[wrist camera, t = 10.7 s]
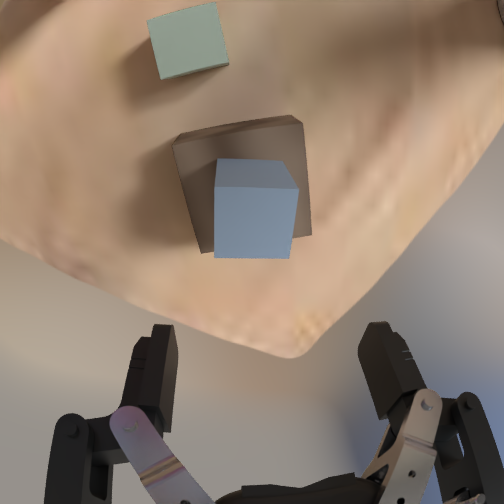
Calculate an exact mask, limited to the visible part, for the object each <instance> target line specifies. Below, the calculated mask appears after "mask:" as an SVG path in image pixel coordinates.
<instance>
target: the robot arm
mask: <svg viewBox="0 0 504 504" xmlns="http://www.w3.org/2000/svg"><path fill="white" fill-rule="evenodd" d="M498 7H499V11H500V15H501V18H502V20H503V23H504V0H498ZM358 358H359V361H360V364H361V366H362V369H363V372H364V375H365V378H366V381H367V384H368V387H369V390H370V393H371V396H372V399H373V402H374V405H375V408H376V412H377V415H378V418H379V420H383V419H387V418H388V419H389V422H390V423H389V424H388V426H387V428H386V430H385V433H384V435H383V437H382V440H381V443H380V445H379V447H378V449H377V451H376V454H375V456H374V458H373V460H372V462H371V463H370V465H369V466H368V467H367V468H366V470H365V471H364V473H363V474H362V476H361V478H358V477H355V474H354V472H353V473H348V474H344V475H339V476H333V477H328V478H326V479H323V480H321V481H319V482H316V483H313V484H311V485H308V486H306V487H303V488H296V487H286V486H279V485H272V484H268V485H249V486H242V487H241V490H238V491H235V492H232V493H229V494H227V495H225V496H223V497H221V498H219V499H218V500H216V501H215V502H214V501H213V500H212V499H211V498H210V497H209V496H208V494H207V493H206V492H205V491H204V490H203V489H202V488H201V486H200V485H199V484H198V483H197V482H196V481H195V480H194V478H193V477H192V476H191V474H190V473H189V472H188V471H187V470H186V468H185V467H184V466H183V465H182V463H181V462H180V461H179V460H178V459H177V458H176V457H175V456H174V454H173V453H172V452H171V450H170V449H169V447H168V446H167V445H166V443H165V442H164V441H163V432H169V433H170V432H171V425H172V413H173V403H174V392H175V384H176V375H177V367H178V347H177V342H176V336H175V332H174V326H173V325H162V324H154V326H153V330H152V334H151V337H141V338H140V339H139V341H138V342H137V343H136V344H135V346H134V349H133V353H132V356H131V361H130V365H129V369H128V373H127V378H126V382H125V387H124V391H123V396H122V400H121V404H120V406H119V407H118V409H117V410H116V411H115V412H114V413H112V414H110V415H109V416H106V417H100V418H94V419H86V420H85V419H84V418H83V417H81V416H80V415H78V414H74V413H71V414H66V415H64V416H62V417H61V418H60V419H59V420H58V421H57V423H56V426H55V430H54V435H53V440H52V446H51V451H50V458H49V464H48V471H47V479H46V488H45V497H44V504H111V503H112V480H113V479H112V478H113V464H120V463H127V462H130V463H131V465H132V466H133V467H134V469H135V471H136V472H137V474H138V475H139V477H140V480H141V482H142V484H143V486H144V487H145V489H146V490H147V491H148V493H149V494H150V496H151V497H152V499H153V500H154V501H155V502H156V504H420V501H421V499H422V496H423V494H424V491H425V488H426V486H427V483H428V480H429V477H430V474H431V471H432V468H433V465H434V466H435V470H436V474H437V478H438V482H439V487H440V492H441V496H442V501H443V504H504V468H503V465H502V462H501V458H500V455H499V452H498V449H497V446H496V443H495V440H494V437H493V434H492V431H491V428H490V426H489V423H488V420H487V418H486V415H485V412H484V410H483V407H482V405H481V402H480V401H479V399H478V397H477V396H476V395H475V394H473V393H471V392H464V393H462V394H461V395H460V396H459V397H458V398H457V399H451V398H440V396H439V395H438V394H437V393H436V392H435V391H433V390H431V389H427V387H426V385H425V383H424V381H423V379H422V376H421V374H420V372H419V369H418V367H417V365H416V363H415V361H414V360H413V356H412V355H411V352H409V348H408V346H407V344H406V342H405V340H404V339H403V338H402V337H401V336H400V335H399V334H398V333H397V332H393V331H392V329H391V327H390V325H389V324H388V322H386V321H383V322H371V323H369V324H368V326H367V328H366V331H365V333H364V335H363V337H362V339H361V341H360V344H359V346H358ZM458 433H459V436H460V440H461V443H462V446H463V449H464V457H463V454H462V451H461V447H460V444H459V441H458V438H457V435H456V434H458Z"/></svg>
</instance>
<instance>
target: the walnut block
mask: <svg viewBox="0 0 504 504" xmlns="http://www.w3.org/2000/svg"><path fill="white" fill-rule="evenodd" d="M172 149H173V153H174V157H175V161H176V165H177V168H178V172H179V176H180V180H181V184H182V188H183V191H184V195H185V199H186V202H187V206H188V210H189V213H190V217H191V221H192V224H193V228H194V231H195V235H196V238H197V242H198V245H199V249H200V252H201V254H202V253H208V252H214V188H215V177H216V168H217V159H254V160H275V161H283V163H284V164H285V166H286V168H287V169H288V171H289V173H290V174H291V176H292V178H293V180H294V181H295V183H296V185H297V187H298V188H299V194H298V202H297V209H296V216H295V223H294V229H293V236H292V238H297V237H304V236H310V235H312V228H311V211H310V197H309V183H308V171H307V160H306V149H305V139H304V129H303V123H302V122H300V121H299V120H298V119H296V118H295V117H293V116H292V115H285V116H277V117H269V118H262V119H256V120H249V121H243V122H237V123H231V124H226V125H220V126H215V127H210V128H205V129H200V130H195V131H191V132H186V133H182V134H180V135H179V137H178V138H177V139H176V141H175V142H174V143H173V145H172Z"/></svg>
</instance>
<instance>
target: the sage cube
mask: <svg viewBox="0 0 504 504" xmlns="http://www.w3.org/2000/svg"><path fill="white" fill-rule="evenodd" d="M147 25H148V29H149V33H150V38H151V42H152V46H153V50H154V55H155V59H156V63H157V67H158V71H159V75H160V79H173V78H177V77H180V76H184V75H187V74H191V73H195V72H199V71H203V70H207V69H211V68H216V67H220V66H225V65H229V59H228V55H227V50H226V46H225V41H224V37H223V33H222V28H221V24H220V20H219V15H218V11H217V7H216V2H212V3H207V4H203V5H199V6H195V7H191V8H187V9H183V10H179V11H176V12H172V13H169V14H165V15H162V16H159V17H156V18H153V19H150V20H147Z"/></svg>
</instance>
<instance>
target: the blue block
mask: <svg viewBox="0 0 504 504" xmlns="http://www.w3.org/2000/svg"><path fill="white" fill-rule="evenodd" d="M298 194H299V188H298V187H297V185H296V183H295V181H294V180H293V178H292V176H291V174H290V173H289V171H288V169H287V168H286V166H285V164H284V163H283V161H275V160H254V159H217V168H216V177H215V188H214V258H281V259H289V255H290V249H291V243H292V236H293V229H294V223H295V216H296V209H297V202H298Z"/></svg>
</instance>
